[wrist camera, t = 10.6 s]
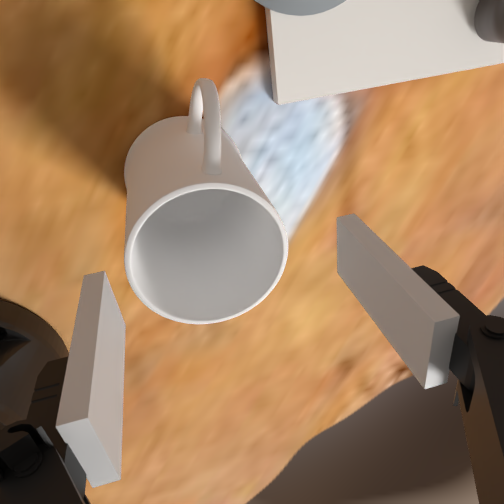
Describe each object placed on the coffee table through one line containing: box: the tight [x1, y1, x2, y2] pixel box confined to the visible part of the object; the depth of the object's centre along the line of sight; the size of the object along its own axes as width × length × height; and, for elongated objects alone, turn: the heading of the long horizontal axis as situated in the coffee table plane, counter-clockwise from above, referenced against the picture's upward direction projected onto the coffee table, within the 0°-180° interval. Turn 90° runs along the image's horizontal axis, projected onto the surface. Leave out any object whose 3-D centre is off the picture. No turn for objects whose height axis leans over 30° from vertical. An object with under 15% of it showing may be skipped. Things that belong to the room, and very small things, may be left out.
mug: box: [124, 78, 288, 324], centre depth 25 cm, size 12×8×12 cm
